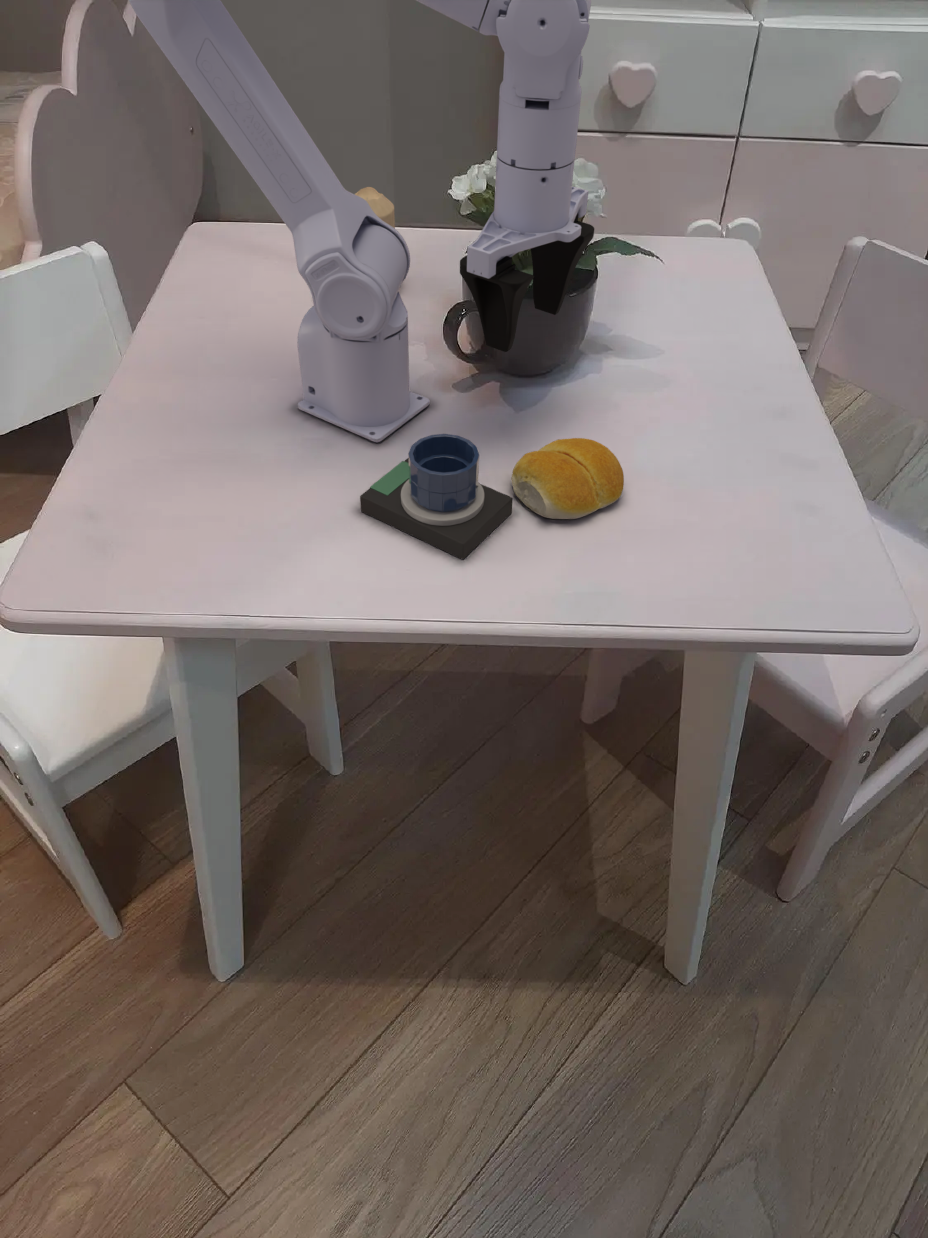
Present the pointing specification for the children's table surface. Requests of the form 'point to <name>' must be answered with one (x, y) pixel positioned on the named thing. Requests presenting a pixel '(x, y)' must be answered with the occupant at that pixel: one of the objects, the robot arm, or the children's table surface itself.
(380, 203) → the candle
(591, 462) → the bread roll
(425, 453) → the cup
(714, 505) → the children's table surface
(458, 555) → the scale
